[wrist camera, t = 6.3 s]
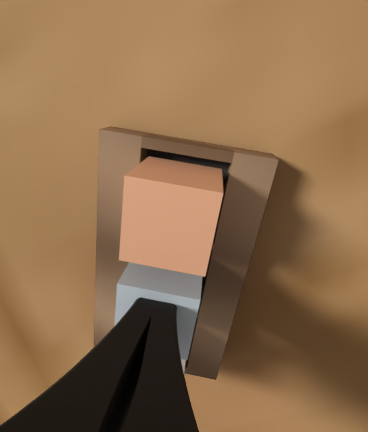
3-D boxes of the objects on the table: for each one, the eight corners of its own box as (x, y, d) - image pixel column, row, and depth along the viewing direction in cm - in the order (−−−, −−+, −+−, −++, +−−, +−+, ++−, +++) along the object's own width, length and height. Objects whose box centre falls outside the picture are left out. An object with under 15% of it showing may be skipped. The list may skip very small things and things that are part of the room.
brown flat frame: (216, 360, 15) (216, 379, 14) (102, 336, 16) (93, 354, 15) (272, 154, 11) (278, 159, 10) (110, 126, 11) (99, 129, 10)
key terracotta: (208, 234, 11) (205, 276, 9) (142, 222, 12) (118, 260, 9) (221, 168, 10) (223, 193, 8) (148, 156, 10) (124, 175, 8)
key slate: (194, 305, 13) (187, 360, 10) (135, 293, 13) (113, 344, 10) (204, 253, 12) (200, 300, 9) (140, 241, 12) (116, 283, 9)
